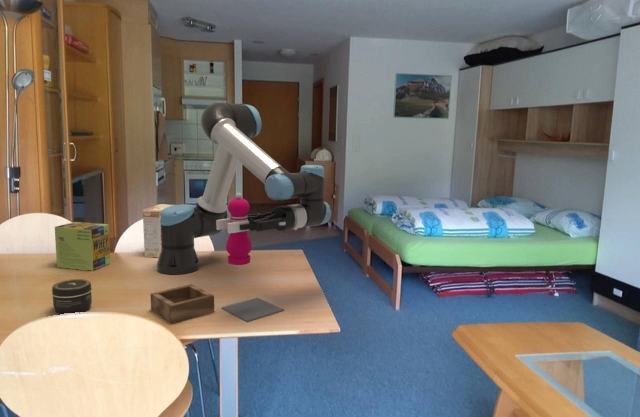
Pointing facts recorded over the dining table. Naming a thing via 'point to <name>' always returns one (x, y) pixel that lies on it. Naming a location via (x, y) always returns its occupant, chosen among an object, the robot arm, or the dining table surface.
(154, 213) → the coffeecake box
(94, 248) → the protein box
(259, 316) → the mat
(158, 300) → the walnut box
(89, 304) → the jar
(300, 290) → the dining table surface
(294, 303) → the dining table surface
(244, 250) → the pepper mill
